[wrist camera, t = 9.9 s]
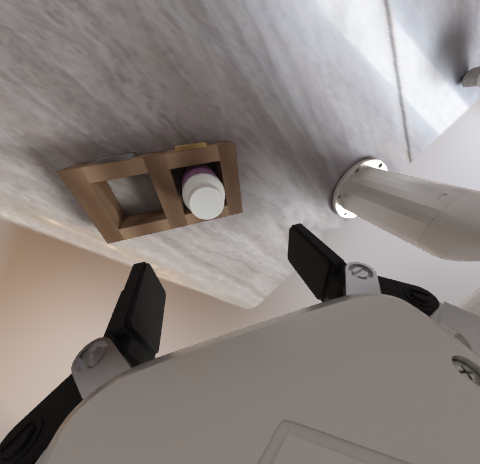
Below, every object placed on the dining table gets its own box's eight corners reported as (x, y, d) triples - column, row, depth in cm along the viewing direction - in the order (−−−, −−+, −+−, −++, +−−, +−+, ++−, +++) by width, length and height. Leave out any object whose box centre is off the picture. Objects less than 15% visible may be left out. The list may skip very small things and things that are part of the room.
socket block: (227, 137, 25) (234, 139, 21) (236, 203, 30) (242, 212, 27) (74, 160, 21) (54, 167, 18) (116, 229, 27) (107, 243, 24)
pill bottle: (174, 177, 25) (170, 200, 18) (202, 155, 25) (211, 169, 17) (197, 203, 29) (203, 233, 21) (223, 184, 28) (238, 207, 20)
